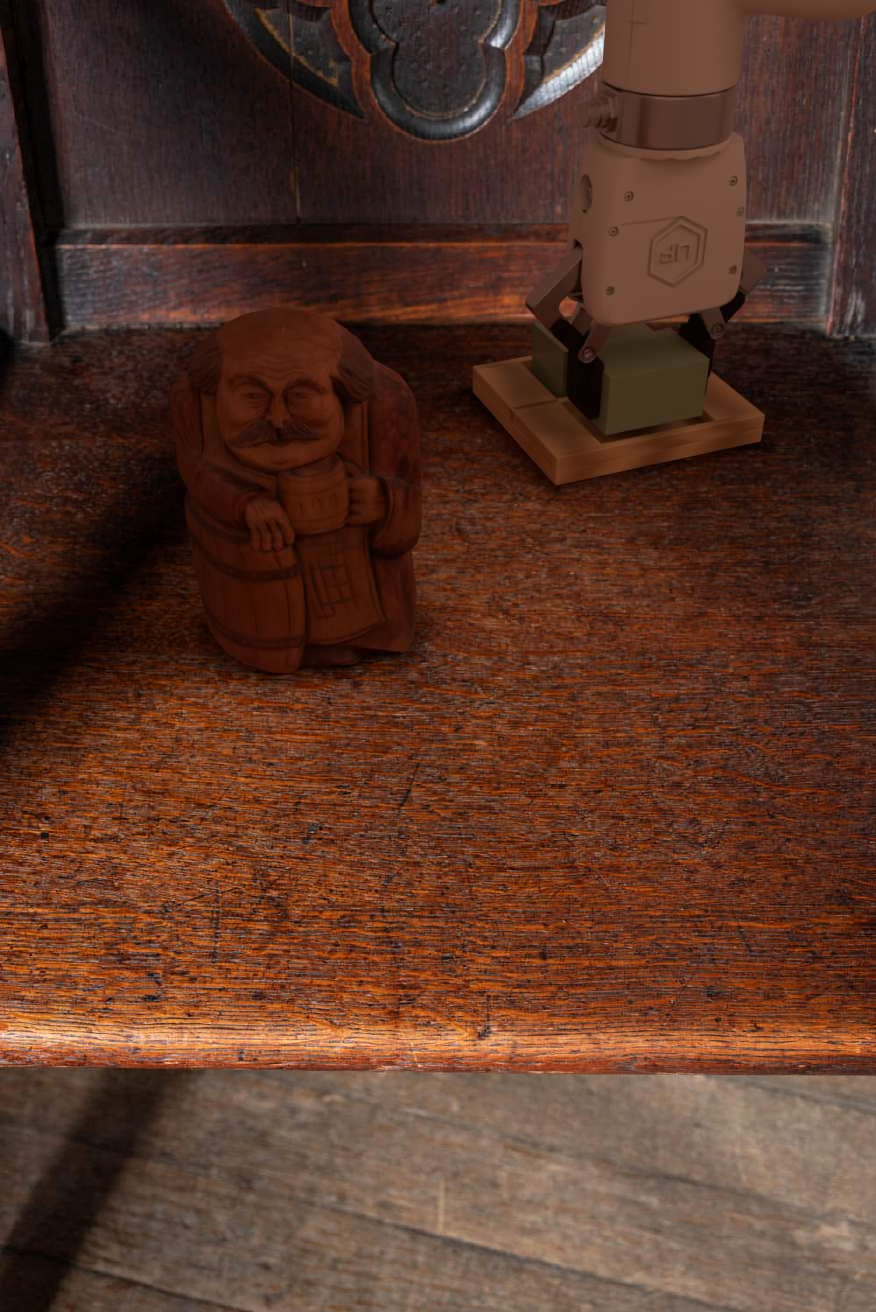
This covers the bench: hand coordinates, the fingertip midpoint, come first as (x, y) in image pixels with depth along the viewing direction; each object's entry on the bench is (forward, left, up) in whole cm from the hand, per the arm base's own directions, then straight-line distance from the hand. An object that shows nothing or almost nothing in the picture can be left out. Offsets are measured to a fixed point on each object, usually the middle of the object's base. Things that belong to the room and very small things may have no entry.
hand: (637, 397), depth 82 cm
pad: (0, 0, -1) cm, 1 cm away
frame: (0, -3, -3) cm, 4 cm away
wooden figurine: (+26, +13, -3) cm, 29 cm away
